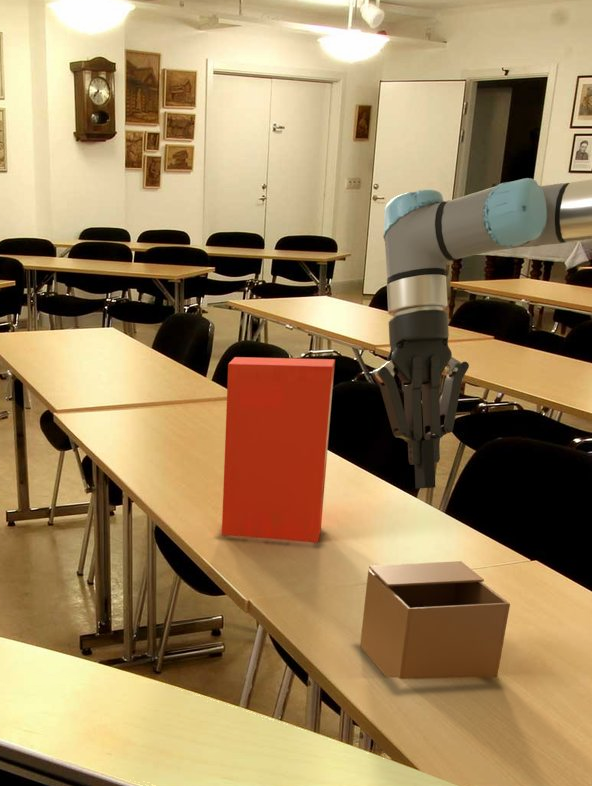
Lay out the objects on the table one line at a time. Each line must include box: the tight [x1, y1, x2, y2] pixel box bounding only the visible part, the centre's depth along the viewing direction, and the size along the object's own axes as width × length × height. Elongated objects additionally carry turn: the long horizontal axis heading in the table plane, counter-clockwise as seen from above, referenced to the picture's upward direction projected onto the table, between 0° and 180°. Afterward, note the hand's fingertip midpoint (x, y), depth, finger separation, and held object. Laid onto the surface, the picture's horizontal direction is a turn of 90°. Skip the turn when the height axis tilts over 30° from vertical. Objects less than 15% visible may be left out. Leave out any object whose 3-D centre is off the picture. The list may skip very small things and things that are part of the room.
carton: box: [359, 569, 511, 680], centre depth 119 cm, size 13×13×11 cm
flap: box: [368, 560, 485, 586], centre depth 119 cm, size 6×13×1 cm, turn 94°
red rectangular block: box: [221, 356, 336, 544], centre depth 163 cm, size 8×17×32 cm, turn 71°
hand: (425, 487), depth 125 cm, fingers closed
